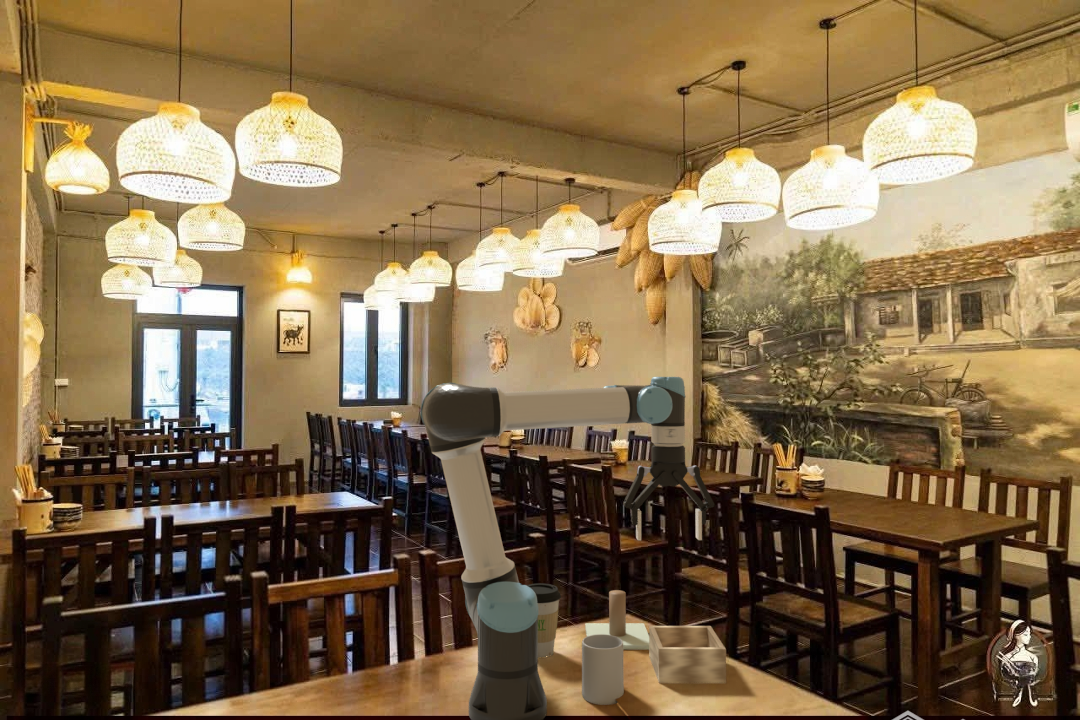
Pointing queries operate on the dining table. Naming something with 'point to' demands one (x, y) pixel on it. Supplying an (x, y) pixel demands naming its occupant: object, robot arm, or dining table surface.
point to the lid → (621, 625)
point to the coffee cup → (546, 616)
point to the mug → (602, 669)
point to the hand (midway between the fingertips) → (668, 539)
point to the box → (687, 654)
